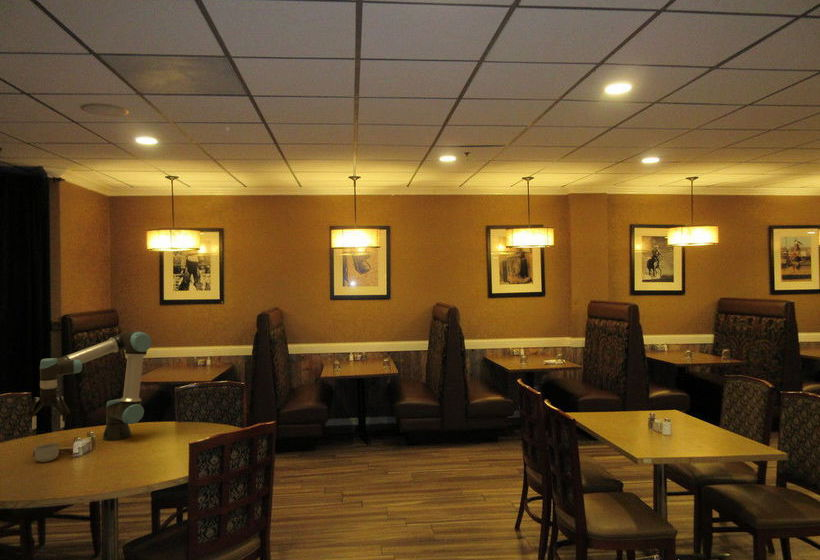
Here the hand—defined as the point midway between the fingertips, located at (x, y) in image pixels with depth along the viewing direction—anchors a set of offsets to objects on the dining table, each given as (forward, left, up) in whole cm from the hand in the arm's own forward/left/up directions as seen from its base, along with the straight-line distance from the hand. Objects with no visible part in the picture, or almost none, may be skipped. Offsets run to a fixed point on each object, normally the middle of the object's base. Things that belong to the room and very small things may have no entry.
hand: (48, 428), depth 284 cm
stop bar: (0, -9, -17) cm, 19 cm away
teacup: (0, 0, -17) cm, 17 cm away
